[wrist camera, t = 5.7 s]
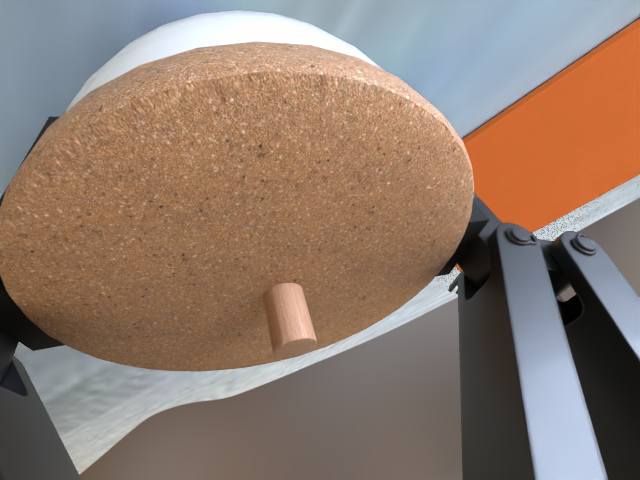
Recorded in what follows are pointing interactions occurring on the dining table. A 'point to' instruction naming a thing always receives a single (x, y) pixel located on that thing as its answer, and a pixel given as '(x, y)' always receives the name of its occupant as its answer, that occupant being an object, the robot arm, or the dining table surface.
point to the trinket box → (232, 198)
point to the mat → (563, 138)
